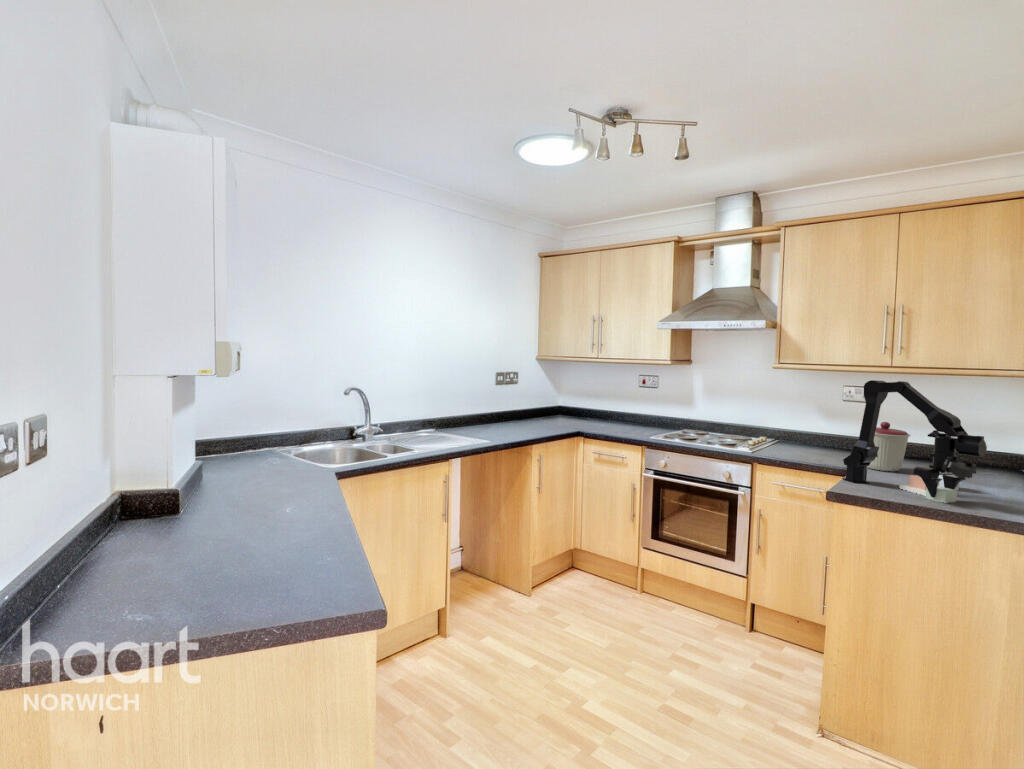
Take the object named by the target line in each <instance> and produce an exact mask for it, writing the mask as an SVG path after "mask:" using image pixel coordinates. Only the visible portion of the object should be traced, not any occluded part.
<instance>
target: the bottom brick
mask: <svg viewBox="0 0 1024 769" xmlns="http://www.w3.org/2000/svg"><path fill="white" fill-rule="evenodd" d="M908 480H909V481H908V485H909V486H910V487H914V488H918V489H922V490H926V485H925V483H924V482H923V480H922V478H921V477H919V476H918V475H914V474H911V475H909V479H908ZM937 486H939V482H938V485H937Z"/></svg>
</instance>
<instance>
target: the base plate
mask: <svg viewBox="0 0 1024 769" xmlns="http://www.w3.org/2000/svg"><path fill="white" fill-rule="evenodd" d="M899 488H900V489H899ZM899 488H898V489H899V490H901V489H903V490H902V491H905V490H907V491H906V492H909V491H910V493H913V494H916V493H917V494H916V495H920V494H921V496H926V490H922V489H918V488H914V487H910V486H909V484H899Z"/></svg>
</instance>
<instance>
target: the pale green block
mask: <svg viewBox="0 0 1024 769" xmlns="http://www.w3.org/2000/svg"><path fill="white" fill-rule="evenodd" d="M957 494H958V491H957V490H954V489H949V488H944V487H940V486H937V491H936V496H935V497H931V496H930V493H929V491H928V489H927V487H926V496H925V499H926V498H927V499H926V500H930V499H931V501H936V502H939V501H940V502H939V503H943V502H944V504H949V502H950V503H956V502H957Z"/></svg>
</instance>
